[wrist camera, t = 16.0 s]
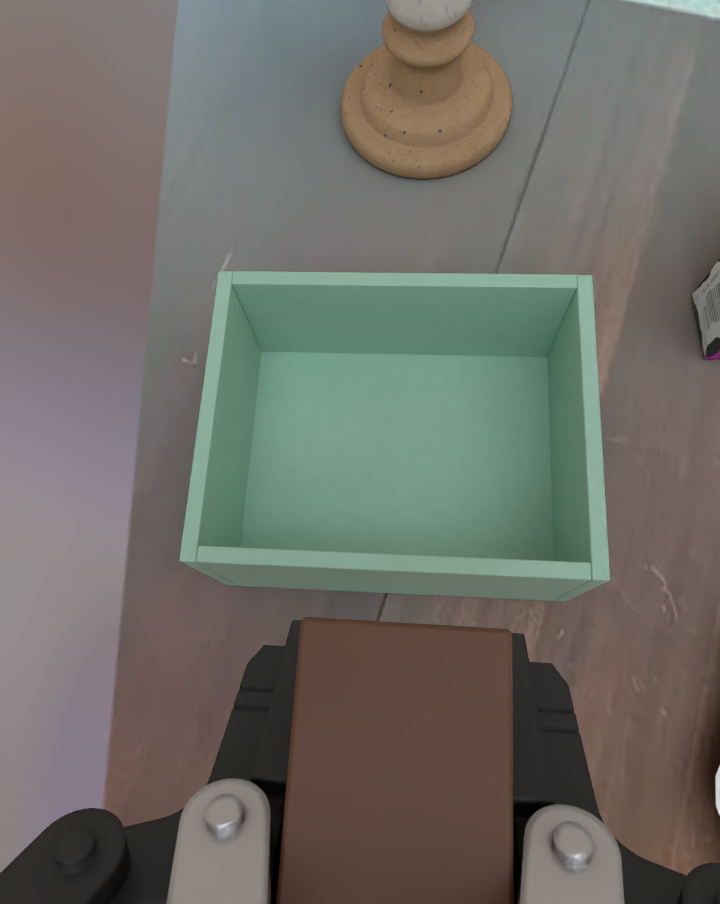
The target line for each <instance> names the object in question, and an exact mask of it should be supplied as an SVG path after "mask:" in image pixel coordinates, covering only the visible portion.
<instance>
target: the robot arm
mask: <svg viewBox="0 0 720 904" xmlns="http://www.w3.org/2000/svg"><path fill="white" fill-rule="evenodd" d="M301 621H302V620H293V621H292V623H291V626H290V630H289V634H288V637H287V641H286V645H285V646H270V645H264V646H263V647H262V648H261V649H260V650H259V651H258V652H257V654H256V655H255V656H254V657H253V658H252V659H251V660H250V661H249V662H248V664H247V666H246V669H245V672H244V675H243V678H242V681H241V684H240V690H238V694H237V697H236V700H235V703H234V709H232V712H231V715H230V718H229V721H228V724H227V727H226V730H225V733H224V736H223V739H222V742H221V745H220V749H219V752H218V755H217V758H216V761H215V764H214V767H213V770H212V773H211V776H210V778H209V781H208V783H207V785H206V786H205V787H203V788H202V789H200V790H199V791H198V792H197V793H195V794H194V795H193V797H192V798H191V799H190V800H189V801H188V803H187V804H186V806H185V807H184V808H183V809H182V810H180V811H178V812H177V813H174V814H172V815H170V816H167V817H164V818H161V819H157V820H153V821H148V822H144V823H140V824H135V825H131V826H127V827H123V825H122V823H121V821H120V820H119V819H118V817H116V816H115V815H114V814H113V813H111V812H109V811H107V810H103V809H96V808H89V809H82V810H77V811H74V812H72V813H69V814H67V815H65V816H63V817H61V818H59V819H58V820H56V821H55V822H53V823H52V824H51V825H50V826H49V827H47V828H46V829H45V830H44V831H43V832H42V833H41V834H40V835H39V836H38V837H37V838H36V839H35V840H34V841H33V842H32V843H31V844H30V845H29V846H28V847H27V848H26V849H24V850H23V852H21V853H20V855H18V856H17V857H16V858H15V859H14V860H13V861H12V862H11V863H10V864H9V865H8V866H7V867H6V868H5V869H4V870H3V871H2V872H1V873H0V904H276V895H277V884H278V873H279V861H280V850H281V839H282V828H283V816H284V805H285V794H286V782H287V771H288V760H289V749H290V737H291V726H292V715H293V703H294V692H295V681H296V670H297V658H298V647H299V636H300V625H301ZM511 634H512V699H513V848H514V904H720V863H707V864H703V865H700V866H698V867H696V868H694V869H693V870H692V871H691V872H690V873H689V874H688V875H687V876H686V875H683V874H681V873H678V872H676V871H673V870H670V869H668V868H665V867H663V866H660V865H658V864H655V863H653V862H650V861H648V860H646V859H644V858H641V857H640V856H638V855H636V854H635V853H633V852H631V851H630V850H629V849H627V848H626V847H625V846H623V845H622V844H621V843H620V842H619V841H618V840H617V839H616V838H615V837H614V836H613V834H612V833H611V832H610V830H609V829H608V828H607V827H606V825H605V824H604V822H603V820H602V818H601V816H600V814H599V811H598V807H597V804H596V799H595V795H594V791H593V787H592V783H591V778H590V774H589V770H588V766H587V762H586V757H585V753H584V749H583V745H582V741H581V737H580V734H579V728H578V724H577V720H576V716H575V714H574V707H573V703H572V699H571V695H570V691H569V686H568V684H567V683H566V682H565V680H564V679H563V678H562V676H561V675H560V674H559V672H558V671H557V670H556V668H555V667H554V666H553V664H551V663H536V662H529V658H528V653H527V647H526V641H525V637H524V635H523V634H519V633H511Z"/></svg>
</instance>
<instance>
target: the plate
mask: <svg viewBox="0 0 720 904" xmlns="http://www.w3.org/2000/svg"><path fill="white" fill-rule="evenodd" d="M714 796H715V807H716V810H717V812H718V815H719V818H720V763H719V765H718V768H717V770H716V773H715V775H714Z"/></svg>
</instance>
